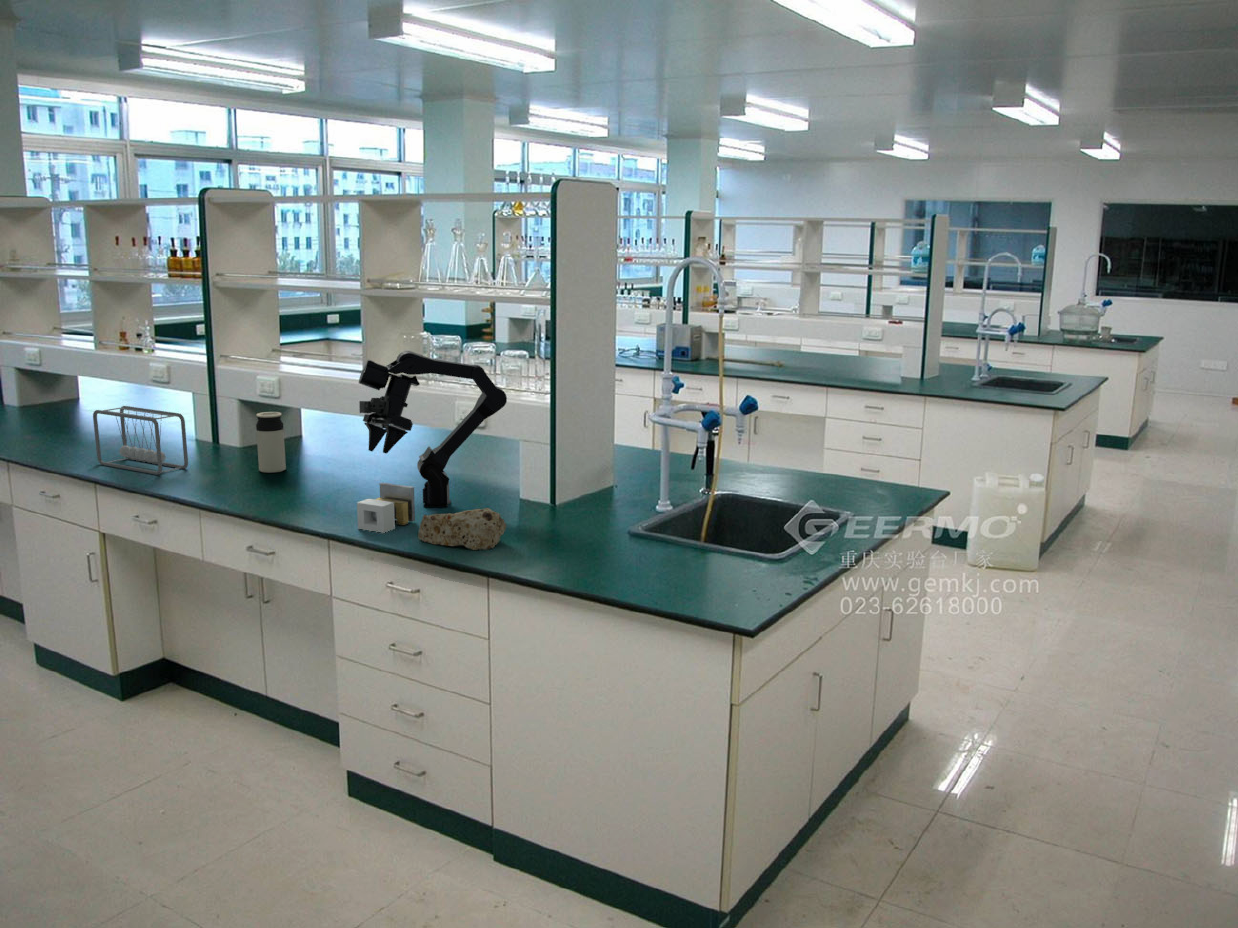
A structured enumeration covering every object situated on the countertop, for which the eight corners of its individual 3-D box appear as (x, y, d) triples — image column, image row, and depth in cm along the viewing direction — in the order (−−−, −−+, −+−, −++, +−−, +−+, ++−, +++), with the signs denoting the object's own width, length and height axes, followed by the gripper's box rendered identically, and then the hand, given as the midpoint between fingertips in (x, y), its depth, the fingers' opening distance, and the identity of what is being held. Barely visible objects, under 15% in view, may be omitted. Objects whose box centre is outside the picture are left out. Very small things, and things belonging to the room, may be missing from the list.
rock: (410, 547, 241) (411, 506, 242) (445, 545, 255) (446, 506, 255) (482, 551, 233) (483, 508, 233) (514, 548, 246) (515, 508, 246)
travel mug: (291, 469, 314) (288, 413, 310) (270, 474, 307) (266, 417, 303) (274, 466, 318) (271, 410, 314) (253, 471, 312) (249, 414, 308)
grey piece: (383, 515, 263) (382, 482, 261) (415, 520, 259) (414, 487, 257) (360, 524, 254) (359, 490, 252) (392, 529, 250) (391, 495, 248)
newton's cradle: (189, 469, 312) (184, 413, 308) (160, 476, 303) (155, 418, 299) (126, 458, 326) (121, 404, 322) (97, 464, 317) (91, 409, 313)
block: (369, 524, 256) (368, 498, 255) (394, 528, 253) (393, 502, 251) (358, 529, 252) (356, 502, 251) (383, 533, 249) (382, 506, 247)
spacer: (380, 518, 261) (379, 497, 259) (408, 523, 257) (407, 501, 256) (375, 520, 259) (374, 499, 258) (403, 525, 255) (402, 503, 254)
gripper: (354, 385, 268) (336, 440, 266) (383, 386, 253) (364, 444, 251) (391, 399, 275) (373, 453, 273) (421, 401, 260) (402, 457, 258)
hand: (377, 452), depth 264 cm, fingers open, 9 cm apart
